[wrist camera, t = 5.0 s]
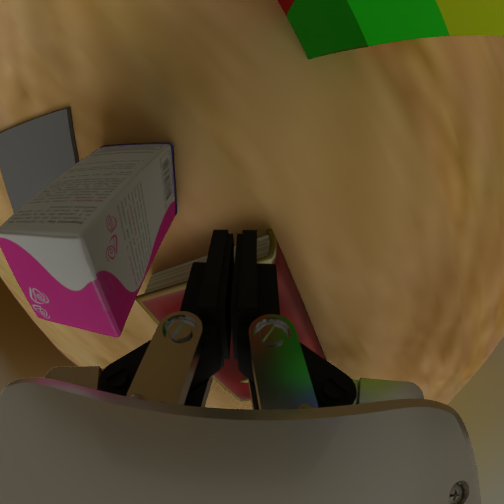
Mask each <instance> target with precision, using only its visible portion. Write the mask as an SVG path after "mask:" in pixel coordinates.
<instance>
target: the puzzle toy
mask: <svg viewBox="0 0 504 504" xmlns="http://www.w3.org/2000/svg"><path fill="white" fill-rule="evenodd" d="M278 2H279V4H280V5H281V7H282V9H283V11H284V12H285V14H286V16H287V18H288V20H289V21H290V23H291V25H292V27H293V29H294V31H295V33H296V35H297V37H298V39H299V41H300V43H301V45H302V47H303V49H304V51H305V53H306V55H307V57H308V59H311V58H315V57H319V56H323V55H327V54H332V53H336V52H341V51H346V50H351V49H356V48H362V47H368V46H373V45H378V44H383V43H389V42H395V41H402V40H409V39H417V38H426V37H438V36H457V35H486V36H504V0H278Z"/></svg>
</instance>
